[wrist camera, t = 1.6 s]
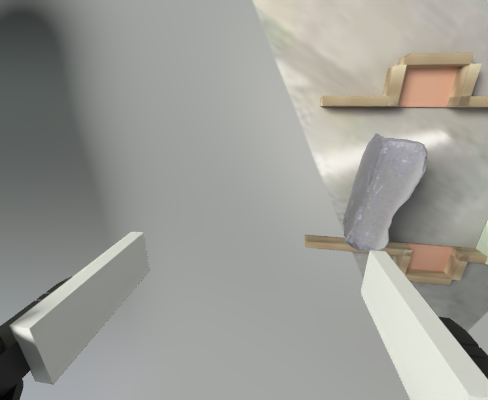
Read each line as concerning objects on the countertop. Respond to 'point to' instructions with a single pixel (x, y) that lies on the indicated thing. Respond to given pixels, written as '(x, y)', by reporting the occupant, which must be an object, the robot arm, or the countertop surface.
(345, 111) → the countertop surface
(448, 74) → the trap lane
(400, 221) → the countertop surface
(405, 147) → the stone block
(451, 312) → the countertop surface
